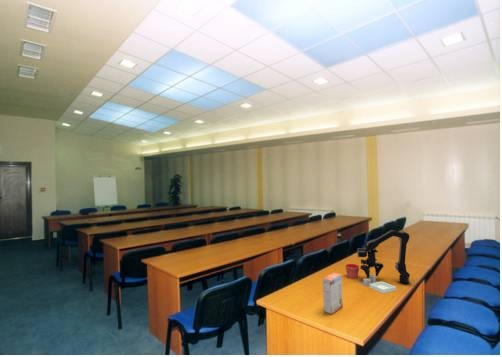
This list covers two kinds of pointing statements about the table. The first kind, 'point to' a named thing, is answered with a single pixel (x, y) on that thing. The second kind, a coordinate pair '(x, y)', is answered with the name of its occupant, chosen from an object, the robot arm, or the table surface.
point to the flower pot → (352, 270)
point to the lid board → (363, 284)
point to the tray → (382, 287)
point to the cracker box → (332, 293)
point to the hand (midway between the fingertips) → (372, 277)
